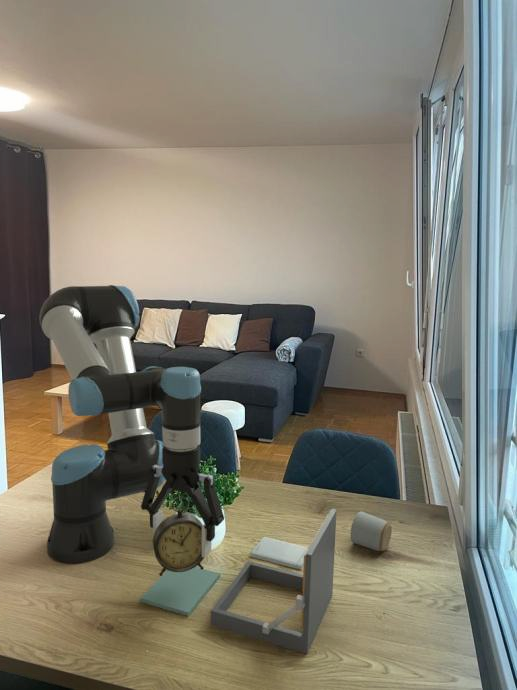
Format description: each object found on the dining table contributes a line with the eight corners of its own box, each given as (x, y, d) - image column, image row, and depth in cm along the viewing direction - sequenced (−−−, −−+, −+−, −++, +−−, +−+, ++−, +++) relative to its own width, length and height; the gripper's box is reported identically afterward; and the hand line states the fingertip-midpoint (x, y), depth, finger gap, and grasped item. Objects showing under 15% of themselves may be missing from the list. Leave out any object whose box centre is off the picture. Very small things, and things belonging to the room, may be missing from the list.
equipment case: (207, 628, 101) (208, 535, 98) (247, 573, 119) (249, 492, 116) (305, 658, 94) (309, 558, 91) (332, 595, 112) (336, 509, 109)
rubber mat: (140, 601, 109) (140, 598, 108) (175, 565, 121) (175, 561, 121) (188, 616, 105) (188, 612, 104) (220, 576, 117) (220, 573, 117)
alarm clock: (155, 581, 108) (154, 505, 105) (152, 566, 113) (151, 493, 110) (209, 573, 111) (209, 499, 108) (204, 559, 116) (204, 488, 114)
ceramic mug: (381, 558, 126) (383, 527, 125) (348, 547, 130) (350, 517, 129) (396, 539, 135) (398, 510, 133) (365, 529, 139) (367, 501, 138)
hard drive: (250, 552, 125) (301, 565, 120) (264, 535, 133) (312, 547, 128) (250, 559, 126) (301, 572, 121) (264, 541, 133) (312, 553, 128)
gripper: (121, 443, 108) (124, 544, 112) (225, 461, 100) (224, 570, 104) (142, 431, 115) (144, 528, 119) (242, 448, 107) (240, 551, 111)
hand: (181, 548), depth 111 cm, fingers closed on alarm clock, 11 cm apart
